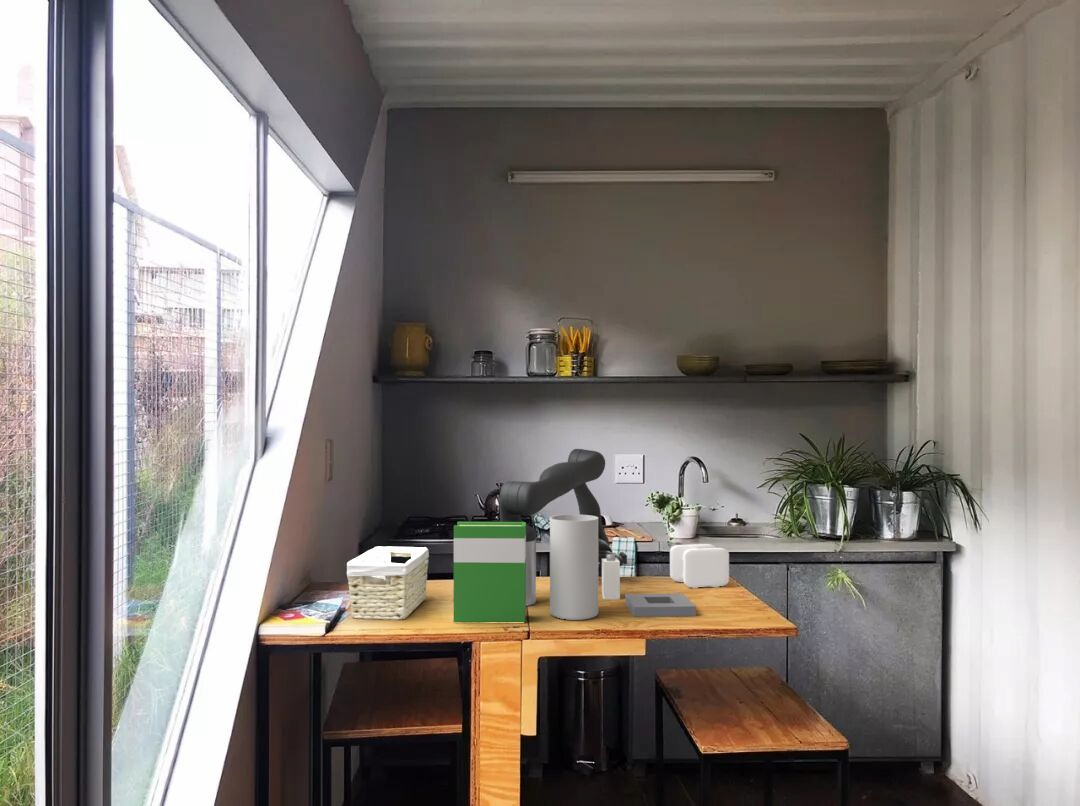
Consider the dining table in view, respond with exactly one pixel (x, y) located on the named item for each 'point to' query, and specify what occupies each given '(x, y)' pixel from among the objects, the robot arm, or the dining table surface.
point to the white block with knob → (610, 577)
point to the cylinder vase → (574, 566)
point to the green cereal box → (490, 572)
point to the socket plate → (659, 605)
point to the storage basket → (387, 582)
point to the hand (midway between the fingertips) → (605, 563)
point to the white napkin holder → (699, 565)
